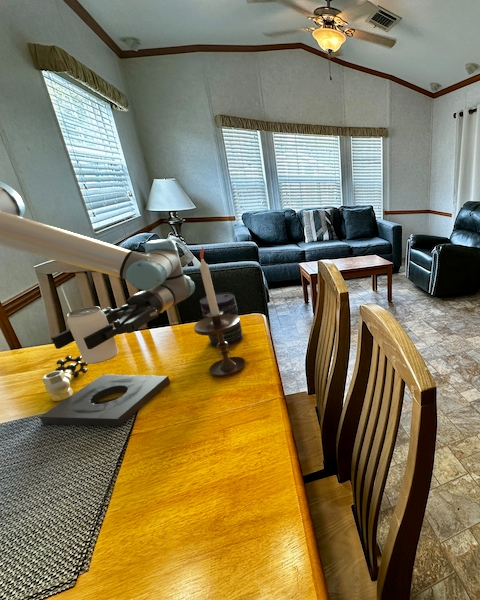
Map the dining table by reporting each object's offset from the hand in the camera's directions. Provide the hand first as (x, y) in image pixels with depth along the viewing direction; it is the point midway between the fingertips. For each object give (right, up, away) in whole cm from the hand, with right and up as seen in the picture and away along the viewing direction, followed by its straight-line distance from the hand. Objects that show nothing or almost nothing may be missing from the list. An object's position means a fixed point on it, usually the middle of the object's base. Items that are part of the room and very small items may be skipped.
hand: (71, 343), depth 71 cm
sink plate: (+1, -15, +9) cm, 18 cm away
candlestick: (+23, -10, +22) cm, 33 cm away
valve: (-14, -14, +14) cm, 24 cm away
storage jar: (+14, -4, +37) cm, 40 cm away
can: (0, -4, +7) cm, 8 cm away
